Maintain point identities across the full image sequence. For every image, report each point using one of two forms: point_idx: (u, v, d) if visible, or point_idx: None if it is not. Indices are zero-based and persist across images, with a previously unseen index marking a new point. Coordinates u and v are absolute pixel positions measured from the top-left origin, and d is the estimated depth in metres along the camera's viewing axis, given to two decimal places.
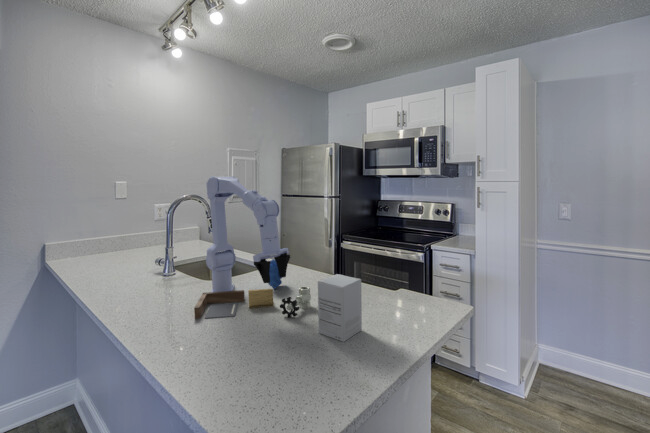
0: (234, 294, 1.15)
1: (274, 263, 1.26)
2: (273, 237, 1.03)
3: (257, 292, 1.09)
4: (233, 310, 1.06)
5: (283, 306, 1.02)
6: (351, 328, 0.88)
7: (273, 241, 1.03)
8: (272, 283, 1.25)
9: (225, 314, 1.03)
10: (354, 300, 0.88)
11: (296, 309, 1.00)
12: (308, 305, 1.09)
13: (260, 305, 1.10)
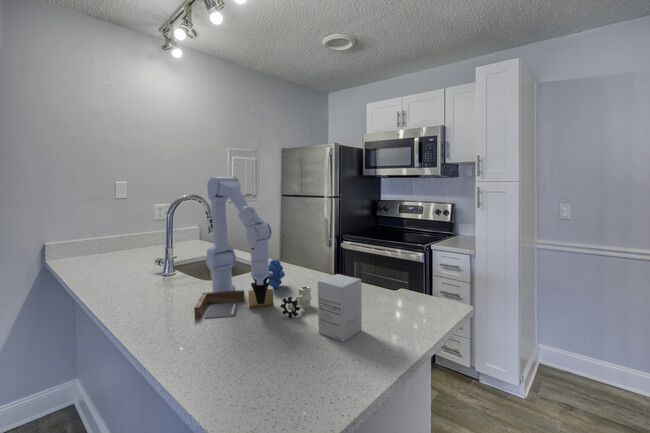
0: (234, 294, 1.15)
1: (274, 263, 1.26)
2: (267, 259, 1.08)
3: None
4: (233, 310, 1.06)
5: (284, 306, 1.02)
6: (351, 328, 0.88)
7: (267, 263, 1.08)
8: (272, 283, 1.25)
9: (225, 314, 1.03)
10: (354, 300, 0.88)
11: (297, 309, 1.00)
12: (308, 305, 1.09)
13: (260, 305, 1.10)
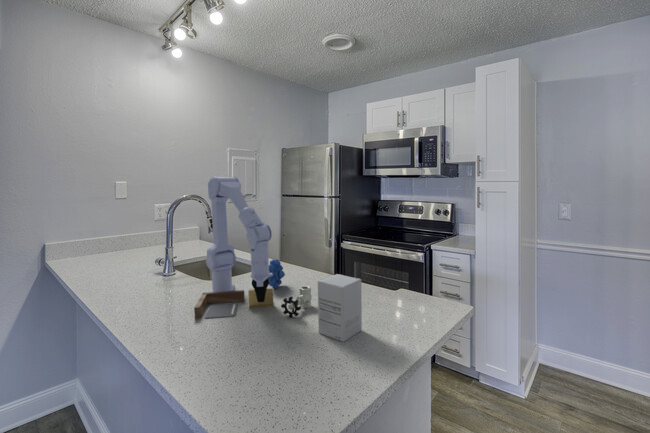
0: (234, 294, 1.15)
1: (274, 263, 1.26)
2: (267, 261, 1.08)
3: None
4: (233, 310, 1.06)
5: (284, 306, 1.02)
6: (351, 328, 0.88)
7: (267, 264, 1.08)
8: (272, 283, 1.25)
9: (225, 314, 1.03)
10: (354, 300, 0.88)
11: (298, 309, 1.00)
12: (309, 305, 1.09)
13: (260, 305, 1.10)
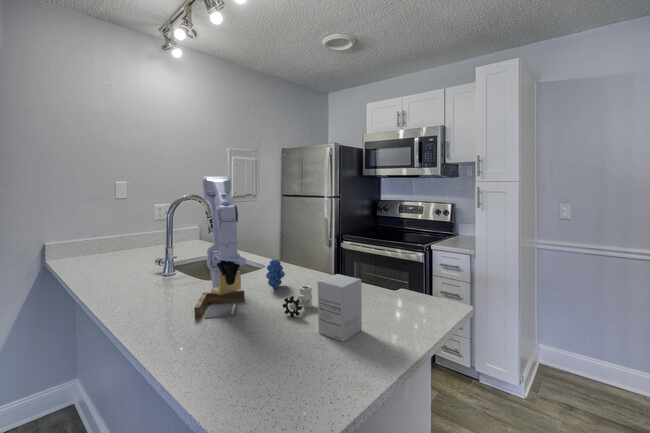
0: (234, 294, 1.15)
1: (274, 263, 1.26)
2: None
3: None
4: (233, 310, 1.06)
5: (286, 305, 1.02)
6: (351, 328, 0.88)
7: None
8: (272, 283, 1.25)
9: (225, 314, 1.03)
10: (354, 300, 0.88)
11: (299, 308, 1.00)
12: (310, 304, 1.09)
13: (230, 289, 1.06)
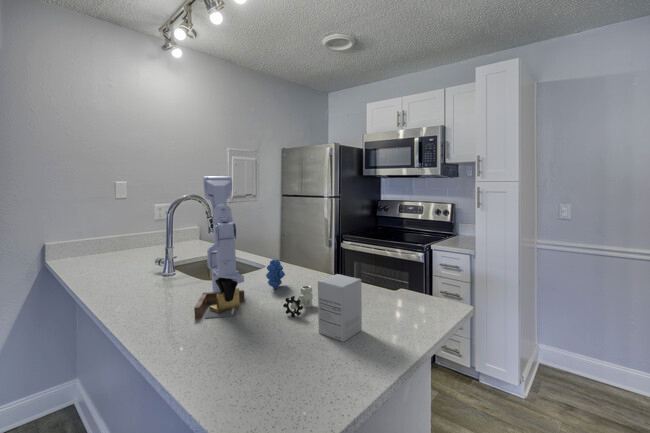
0: None
1: (274, 263, 1.26)
2: None
3: None
4: (233, 310, 1.06)
5: (287, 305, 1.02)
6: (351, 328, 0.88)
7: None
8: (272, 283, 1.25)
9: (225, 314, 1.03)
10: (354, 300, 0.88)
11: (300, 308, 1.00)
12: (310, 304, 1.10)
13: (228, 307, 1.07)
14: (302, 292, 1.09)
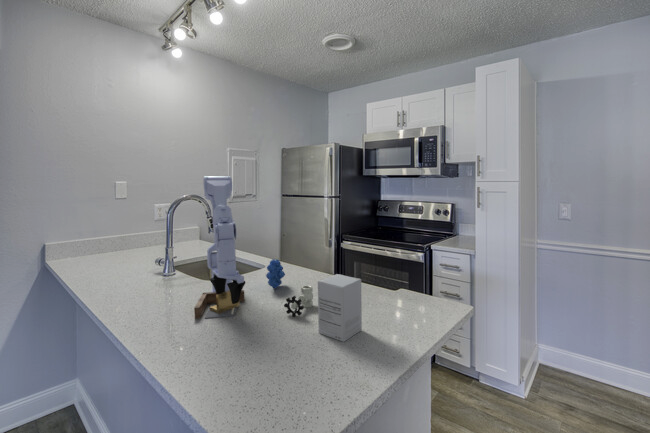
0: None
1: (274, 263, 1.26)
2: None
3: (225, 294, 1.06)
4: (233, 310, 1.06)
5: (287, 305, 1.02)
6: (351, 328, 0.88)
7: None
8: (272, 283, 1.25)
9: (225, 314, 1.03)
10: (354, 300, 0.88)
11: (301, 308, 1.00)
12: (311, 304, 1.10)
13: (228, 307, 1.07)
14: (303, 292, 1.09)
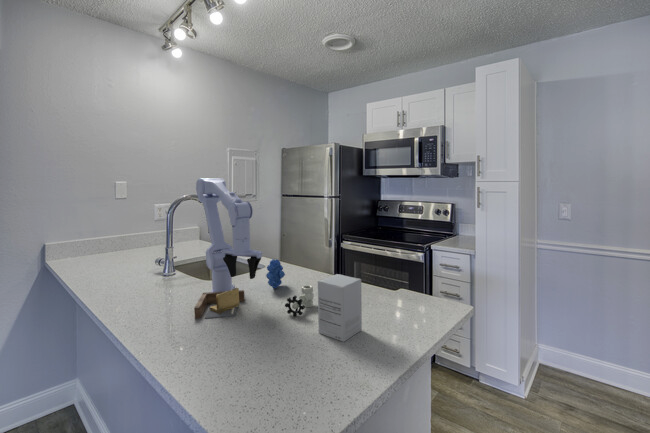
0: None
1: (274, 263, 1.26)
2: None
3: (225, 294, 1.06)
4: (233, 310, 1.06)
5: (288, 305, 1.02)
6: (351, 328, 0.88)
7: None
8: (272, 283, 1.25)
9: (225, 314, 1.03)
10: (354, 300, 0.88)
11: (302, 308, 1.01)
12: (311, 304, 1.10)
13: (228, 307, 1.07)
14: (303, 292, 1.09)
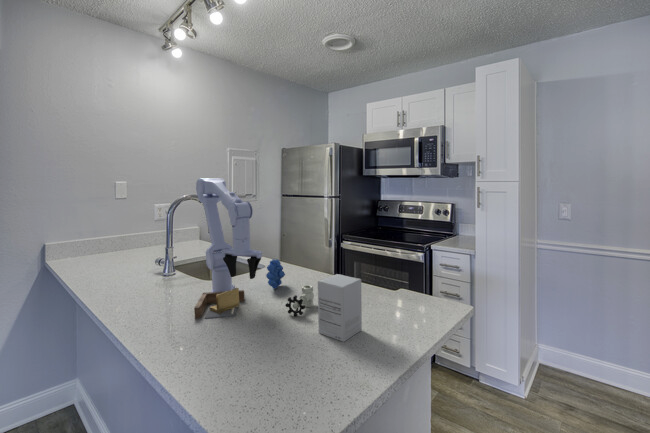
0: None
1: (274, 263, 1.26)
2: None
3: (225, 294, 1.06)
4: (233, 310, 1.06)
5: (289, 305, 1.02)
6: (351, 328, 0.88)
7: None
8: (272, 283, 1.25)
9: (225, 314, 1.03)
10: (354, 300, 0.88)
11: (303, 307, 1.01)
12: (311, 303, 1.10)
13: (228, 307, 1.07)
14: (303, 292, 1.10)
